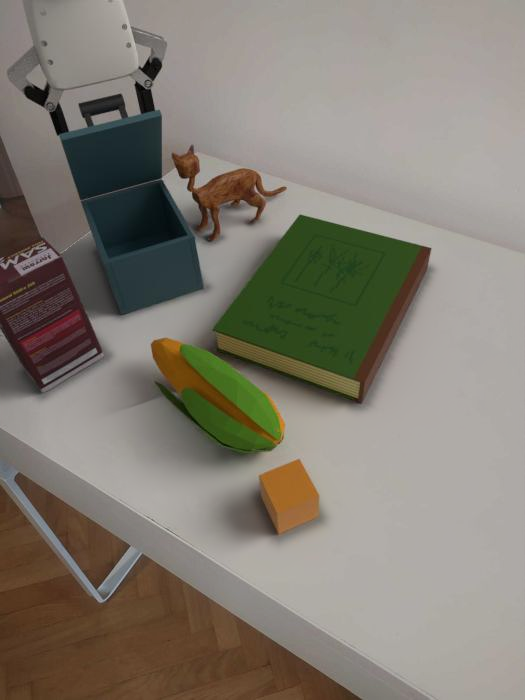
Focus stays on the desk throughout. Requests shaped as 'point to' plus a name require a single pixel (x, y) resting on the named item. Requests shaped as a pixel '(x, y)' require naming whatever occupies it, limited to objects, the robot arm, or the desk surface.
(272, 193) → the cat figurine
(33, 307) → the supplement box
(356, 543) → the desk surface
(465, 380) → the desk surface
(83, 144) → the lid
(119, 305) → the box
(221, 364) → the corn
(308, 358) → the book
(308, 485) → the cheese block
